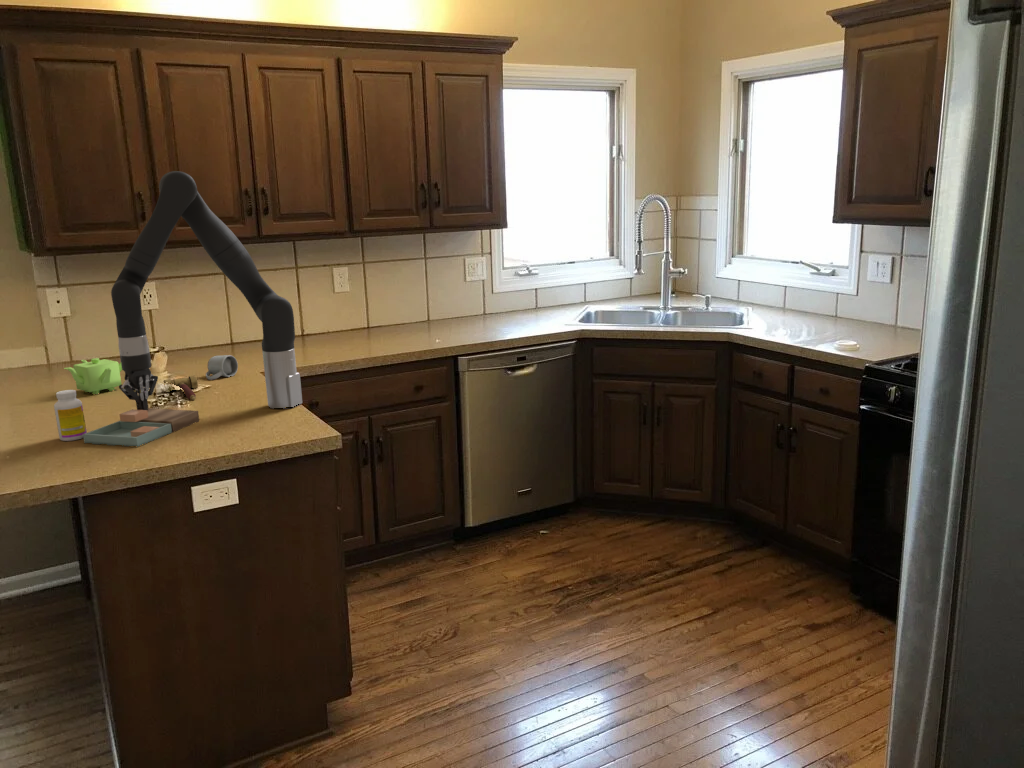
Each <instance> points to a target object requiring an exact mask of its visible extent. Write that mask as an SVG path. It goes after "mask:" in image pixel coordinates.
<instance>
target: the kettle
mask: <svg viewBox="0 0 1024 768" xmlns="http://www.w3.org/2000/svg"><path fill="white" fill-rule="evenodd" d="M80 362H82V363H76V364H73V365H72V366H73V367H64V368H63V369H64V370H67V371H69V372H70V374H71V376H72V378H73V380H74V381H75V383H76V389H77V390H80V391H84V392H89V393H91V394H97V395H99V394H98V393H100V392H101V391H102V390H107V391H108V390H109V391H108V392H113V391H112V390H115V391H116V387H119V385H123V384H122V380H121V379H122V378H121V372H122V371H123V370H122V366H121V362H119V361H116V360H111V359H100V358H99V357H95V358H90V361H87V360H86V359H81V360H80ZM100 394H101V393H100Z"/></svg>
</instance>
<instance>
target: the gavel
mask: <svg viewBox="0 0 1024 768" xmlns="http://www.w3.org/2000/svg"><path fill="white" fill-rule="evenodd" d="M163 382H164V383H166V382H169V383H172V384H174V385H176V386H179V387H180V388H182V389H183V390H184V392H185V394H186V396H187V397H186V396H185V397H186V398H187V399H188V400H190V399H191V401H195V400H196V397H197V396H196V393H195V392H194V391H193V389H191V388H197V389H198V387H199V384H198V383H199V382H198V377H197V376H196V375H189V376H188V377H182V378H175V379H170V378H167V379H163V381H162V383H163Z"/></svg>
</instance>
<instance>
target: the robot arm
mask: <svg viewBox="0 0 1024 768" xmlns="http://www.w3.org/2000/svg"><path fill="white" fill-rule="evenodd" d="M158 190H159V195H158V199H157V202H156V205H155V207H154V210H153V211H152V214H151V215H150V217H149V219H148V221H147V223H146V225H144V227H143V229H142V230H141V232H140V233H139V235H138V236H137V239H136V240H135V242H134V244H133V246H132V247H131V250H130V251H129V253H128V256H127V258H126V261H125V264H124V266H123V268H122V270H121V271H120V272H119V275H118V276H117V278H116V280H115V282H114V283H113V286H112V288H111V291H110V293H111V301H112V307H113V311H114V314H115V321H116V323H115V324H116V332H117V337H118V338H117V342H118V351H119V359H120V363H121V366H122V371H123V372H124V382H123V384H122V385H119V386H118V389H119V390H120V391H121V392H122V393H123V394H124V396H126V397H127V398H128V400H131V401H132V400H133V401H135V405H136V406H135V407H136V410H147V411H148V408H149V402H148V400H149V397H150V396H153V393H154V391H155V388H156V386H157V383H158V379H159V377H158V376H157V375H153V374H152V371H151V369H150V368H151V367H152V360H151V354H150V353H151V352H150V345H149V341H148V337H147V331H146V324H145V319H144V316H143V311H142V302H141V299H142V298H141V293H142V291H143V290H144V287H145V285H146V283H147V280H148V278H149V277H150V276H151V274H152V272H153V271H154V269H155V268H156V265H157V263H158V262H159V260H160V257H161V255H162V253H163V251H164V248H165V247H166V244H167V242H168V240H169V238H170V236H171V234H172V232H173V230H174V228H175V226H176V225H177V223H178V221H179V219H180V218H182V219H183V220H184V221H185V222H186V223H187V225H188V226H189V228H190V229H191V230H192V232H193V234H194V235H195V237H196V239H197V240H198V242H199V243H200V245H201V247H203V249H204V250H205V251H206V253H207V254H208V256H209V258H210V259H211V260H212V261H213V263H214V264H215V266H217V267H218V268H219V270H220V271H221V272H222V273H223V274H224V276H226V278H228V280H229V281H230V282H231V283H232V284H233V285H235V287H236V288H237V289H238V290H239V291H240V293H241V294H242V295H243V297H244V298H245V299H246V301H247V302H248V304H249V305H250V307H251V309H252V310H253V312H254V314H255V315H256V317H257V318H258V319H259V320H260V322H261V324H262V325H261V326H262V334H263V335H262V341H261V350H262V351H261V352H262V359H263V369H264V371H263V372H264V379H265V387H266V389H265V391H266V396H267V397H266V398H267V407H268V406H269V407H270V408H269V407H268V408H269V409H274V408H283V409H286V408H285V407H293V408H295V407H297V406H299V405H301V404H303V394H302V393H303V392H302V384H301V375H300V372H298V371H297V362H296V361H297V360H296V351H295V340H296V329H295V328H296V327H295V316H294V310H293V306H292V304H291V302H290V301H289V300H288V299H286V298H285V297H282V296H280V295H278V294H277V293H276V292H275V290H273V289H272V288H271V287H270V285H269V284H268V283H267V282H266V281H265V280H264V279H263V276H261V274H260V272H259V270H258V268H257V266H256V264H255V261H254V259H253V258H252V256H251V254H250V253H249V251H248V250H247V249H246V247H245V246H244V245H243V243H242V242H241V241H240V240H239V238H238V237H237V236H236V235H235V234H234V232H233V231H232V230H231V229H230V227H228V226H227V225H226V223H224V222H223V220H221V219H220V218H219V217H218V216H217V215H216V214H215V212H213V211H212V210H211V209H210V207H209V206H208V204H207V203H206V202H205V200H204V199H203V197H202V196H201V194H200V193H199V191H198V186H197V184H196V181H195V180H194V178H193V177H192V176H191V175H190V174H188V173H186V172H184V171H179V170H178V171H177V170H172V171H168V172H165V174H164V175H162V176H161V178H160V180H159V183H158ZM298 404H299V405H298ZM296 405H297V406H296ZM294 406H295V407H294Z"/></svg>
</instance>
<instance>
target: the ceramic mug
mask: <svg viewBox="0 0 1024 768" xmlns="http://www.w3.org/2000/svg"><path fill="white" fill-rule="evenodd" d="M238 368H239V363H238V360H237V358H236V357H234V356H233V355H231V354H228V355H227V354H225V355H215V356H212V357H210V358H209V359H208V362H207V372H205V377H206V379H207V380H208V381H210V380H211V381H213V380H216V379H218V378H220V377H226V378H231V377H230V376H232V377H234V376H235V375H236V374H237V372H238Z"/></svg>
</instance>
